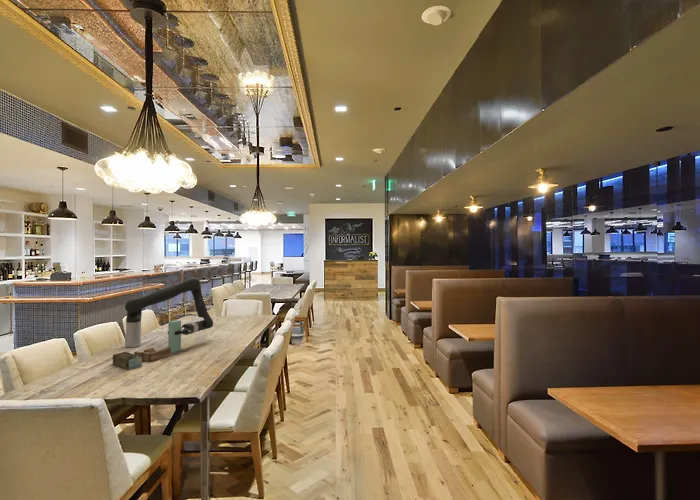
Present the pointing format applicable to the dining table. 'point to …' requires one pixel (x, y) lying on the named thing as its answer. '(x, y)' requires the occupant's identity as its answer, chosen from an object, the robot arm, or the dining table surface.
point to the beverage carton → (127, 360)
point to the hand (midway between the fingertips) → (171, 333)
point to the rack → (154, 355)
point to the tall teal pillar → (174, 336)
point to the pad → (178, 352)
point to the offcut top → (149, 350)
